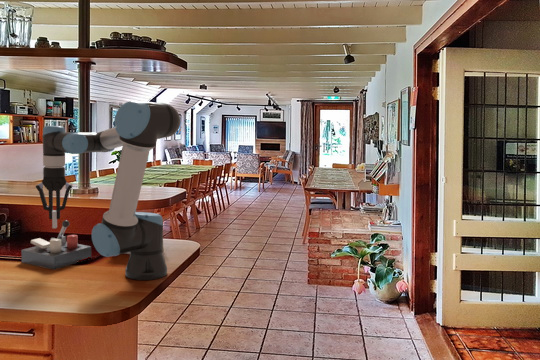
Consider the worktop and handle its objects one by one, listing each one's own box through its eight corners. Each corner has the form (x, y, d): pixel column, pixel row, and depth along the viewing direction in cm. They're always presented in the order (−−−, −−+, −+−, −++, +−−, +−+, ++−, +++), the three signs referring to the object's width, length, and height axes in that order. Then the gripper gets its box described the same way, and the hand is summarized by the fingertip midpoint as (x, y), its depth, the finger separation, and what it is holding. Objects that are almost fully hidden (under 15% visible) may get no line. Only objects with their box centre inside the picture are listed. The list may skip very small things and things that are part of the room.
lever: (63, 240, 192) (72, 222, 190) (58, 242, 190) (66, 223, 187) (59, 236, 193) (67, 218, 190) (53, 238, 191) (61, 219, 188)
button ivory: (63, 252, 183) (63, 239, 182) (55, 254, 179) (54, 241, 178) (56, 250, 184) (56, 238, 184) (47, 253, 181) (47, 240, 180)
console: (91, 258, 192) (91, 239, 191) (54, 269, 176) (53, 249, 175) (59, 251, 199) (59, 233, 198) (21, 262, 183) (21, 242, 182)
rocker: (51, 246, 185) (51, 243, 185) (42, 248, 182) (43, 245, 181) (39, 240, 188) (39, 238, 188) (30, 243, 184) (30, 240, 184)
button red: (79, 247, 190) (79, 235, 189) (71, 249, 186) (71, 237, 186) (72, 246, 191) (72, 234, 191) (64, 248, 188) (64, 236, 187)
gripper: (73, 165, 183) (73, 224, 186) (36, 165, 179) (37, 225, 182) (72, 167, 176) (72, 229, 179) (33, 167, 172) (34, 230, 175)
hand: (54, 227), depth 181 cm, fingers closed
